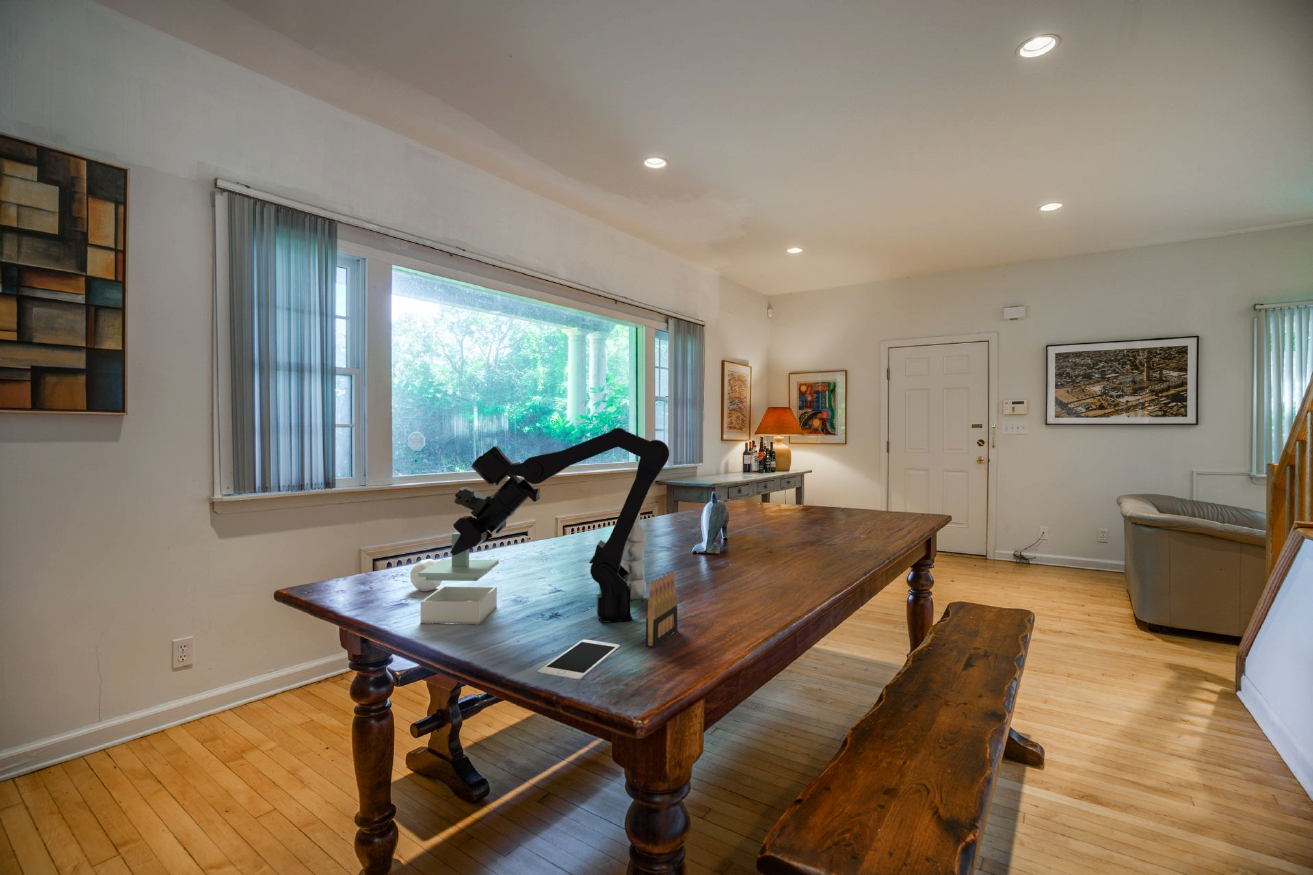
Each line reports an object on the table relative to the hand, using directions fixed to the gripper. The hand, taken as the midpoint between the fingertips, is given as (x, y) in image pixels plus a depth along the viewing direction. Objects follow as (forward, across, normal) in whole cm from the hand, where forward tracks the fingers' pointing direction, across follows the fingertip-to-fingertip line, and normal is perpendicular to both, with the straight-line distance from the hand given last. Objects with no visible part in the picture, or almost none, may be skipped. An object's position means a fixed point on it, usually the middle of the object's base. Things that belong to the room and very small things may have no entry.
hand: (454, 552), depth 125 cm
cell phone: (-12, +23, +32) cm, 41 cm away
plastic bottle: (-17, -14, +36) cm, 42 cm away
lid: (+2, 0, +4) cm, 5 cm away
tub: (+8, 0, +10) cm, 13 cm away
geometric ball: (+19, -19, 0) cm, 27 cm away
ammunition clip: (-22, +12, +41) cm, 48 cm away
